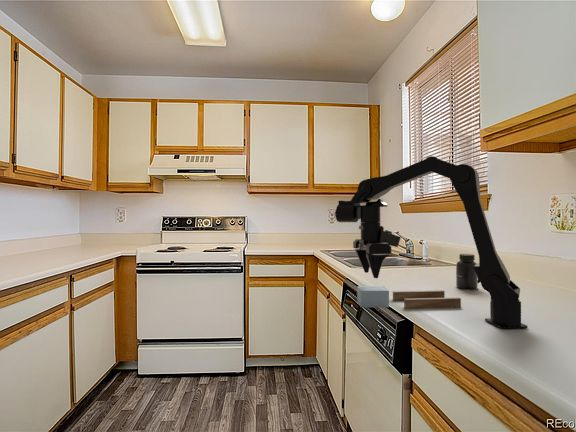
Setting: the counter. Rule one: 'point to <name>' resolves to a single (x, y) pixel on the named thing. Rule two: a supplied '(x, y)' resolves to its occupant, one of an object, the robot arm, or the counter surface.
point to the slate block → (373, 296)
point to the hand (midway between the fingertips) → (371, 275)
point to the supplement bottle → (466, 272)
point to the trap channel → (426, 299)
